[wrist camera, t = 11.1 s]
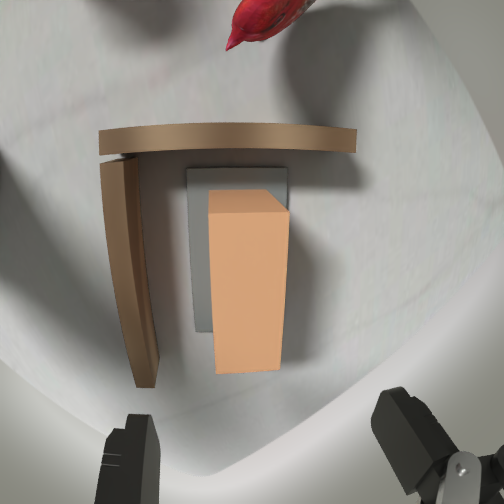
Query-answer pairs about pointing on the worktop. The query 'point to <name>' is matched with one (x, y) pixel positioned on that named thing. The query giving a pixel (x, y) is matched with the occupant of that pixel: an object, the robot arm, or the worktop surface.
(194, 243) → the slate pad
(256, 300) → the terracotta block
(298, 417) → the worktop surface
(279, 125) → the walnut corner
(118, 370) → the worktop surface
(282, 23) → the decorative bird figurine
